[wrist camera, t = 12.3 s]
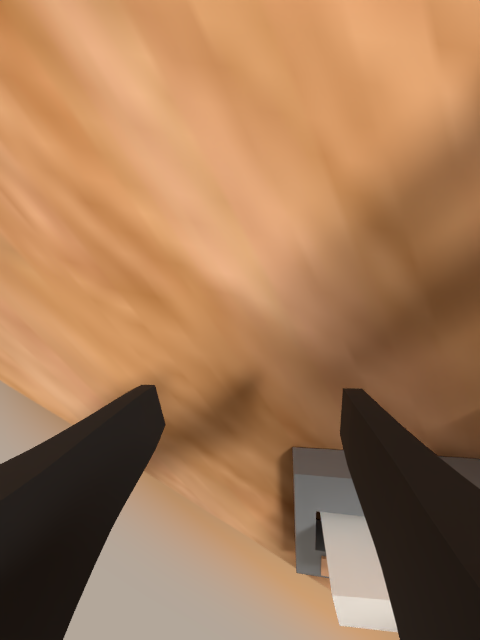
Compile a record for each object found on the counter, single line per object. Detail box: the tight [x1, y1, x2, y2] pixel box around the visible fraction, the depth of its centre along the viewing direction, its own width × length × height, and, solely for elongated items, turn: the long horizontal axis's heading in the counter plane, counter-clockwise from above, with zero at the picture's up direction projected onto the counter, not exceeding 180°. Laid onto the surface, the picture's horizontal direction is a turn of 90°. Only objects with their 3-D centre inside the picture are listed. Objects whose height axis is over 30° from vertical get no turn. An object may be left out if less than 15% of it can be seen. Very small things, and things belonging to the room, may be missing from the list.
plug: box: [320, 512, 398, 632], centre depth 19 cm, size 4×4×7 cm
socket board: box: [293, 447, 480, 578], centre depth 20 cm, size 18×14×3 cm
